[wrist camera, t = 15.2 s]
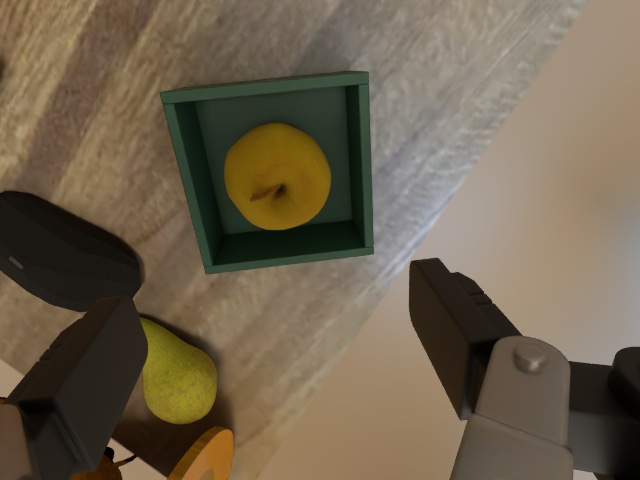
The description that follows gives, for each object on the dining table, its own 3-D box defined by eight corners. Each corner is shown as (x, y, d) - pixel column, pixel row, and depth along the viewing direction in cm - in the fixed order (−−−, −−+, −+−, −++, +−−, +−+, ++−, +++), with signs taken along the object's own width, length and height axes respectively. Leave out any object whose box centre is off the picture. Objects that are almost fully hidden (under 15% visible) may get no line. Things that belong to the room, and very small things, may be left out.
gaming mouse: (-45, 144, 25) (-101, 157, 21) (159, 259, 30) (142, 285, 26) (-77, 215, 27) (-133, 238, 23) (121, 313, 31) (101, 345, 28)
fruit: (241, 397, 31) (160, 275, 30) (177, 451, 28) (84, 319, 27) (223, 386, 36) (153, 280, 34) (167, 431, 33) (88, 318, 32)
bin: (184, 87, 25) (159, 92, 20) (351, 70, 25) (368, 71, 20) (218, 239, 29) (205, 274, 24) (359, 223, 30) (374, 254, 25)
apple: (214, 163, 26) (188, 199, 19) (275, 94, 25) (272, 105, 18) (280, 220, 29) (279, 272, 21) (340, 161, 27) (361, 195, 20)
